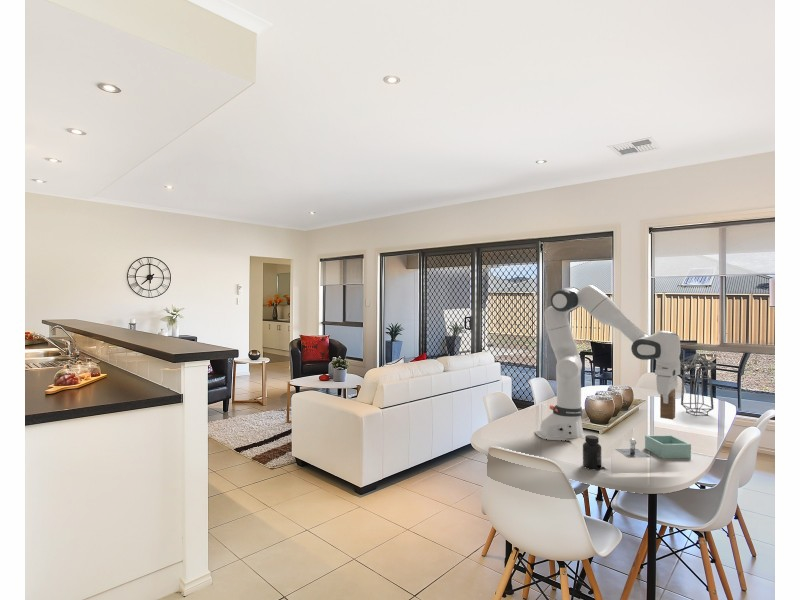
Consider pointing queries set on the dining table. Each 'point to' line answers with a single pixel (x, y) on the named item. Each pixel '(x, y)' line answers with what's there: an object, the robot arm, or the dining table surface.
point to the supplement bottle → (592, 453)
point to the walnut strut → (668, 406)
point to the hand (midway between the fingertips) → (667, 401)
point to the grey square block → (632, 451)
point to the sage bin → (667, 446)
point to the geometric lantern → (698, 382)
